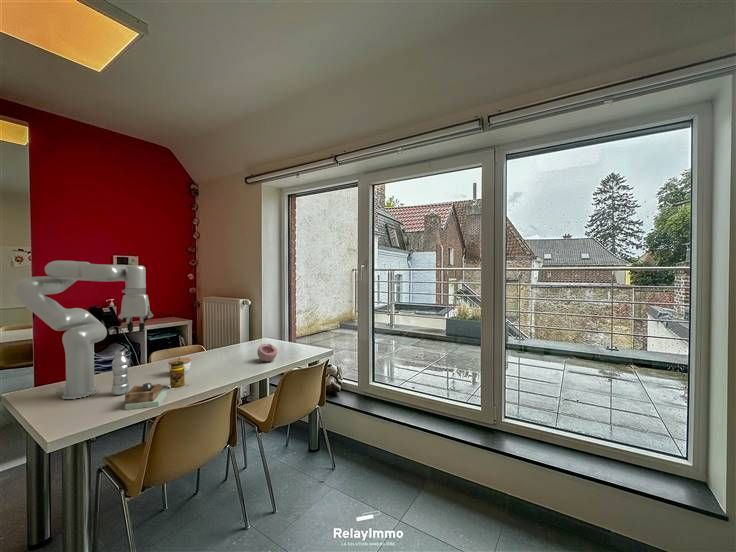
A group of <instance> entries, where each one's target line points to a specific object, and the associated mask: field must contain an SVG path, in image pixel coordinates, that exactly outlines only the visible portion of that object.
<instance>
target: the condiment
mask: <svg viewBox="0 0 736 552" xmlns="http://www.w3.org/2000/svg"><path fill="white" fill-rule="evenodd" d="M183 366H184V365H183V362H182V361H177V362H173V363H171V369H170V370H169V377H170V378H169V380H170V381H169V385H171V388H176V389H172V390H174V391H175V390H178V389H181V388H184V387H186V386H189V383H188V384H187V383H185V375H184V367H183ZM166 386H167V387H166V388H168V385H166Z"/></svg>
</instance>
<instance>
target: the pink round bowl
mask: <svg viewBox="0 0 736 552" xmlns="http://www.w3.org/2000/svg"><path fill="white" fill-rule="evenodd" d="M277 354H278V349H277V348H276V347H275V346H274V345H273V344H271V343H263V344H260V345H259V347H258V349H257V357H258V359H259V360H261V361H263V362H265V363H267V362H271V361H273V360H275V359H276V357H277Z"/></svg>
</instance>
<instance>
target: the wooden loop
mask: <svg viewBox="0 0 736 552" xmlns="http://www.w3.org/2000/svg"><path fill="white" fill-rule="evenodd" d="M161 389H162V384H161V383H155V384H151V391H147V392H143V384H141V385H135V386H133V387H132V388H130V389H129V390H128V392H126V393H124V394H125V396H124V400H125V401H124V402H125V403H124V405H126V404H132V403H142V402H152V401H154V400H155V399H156V397H157V396H158V395H159V394H160V393H161V392H162V390H161Z"/></svg>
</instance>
